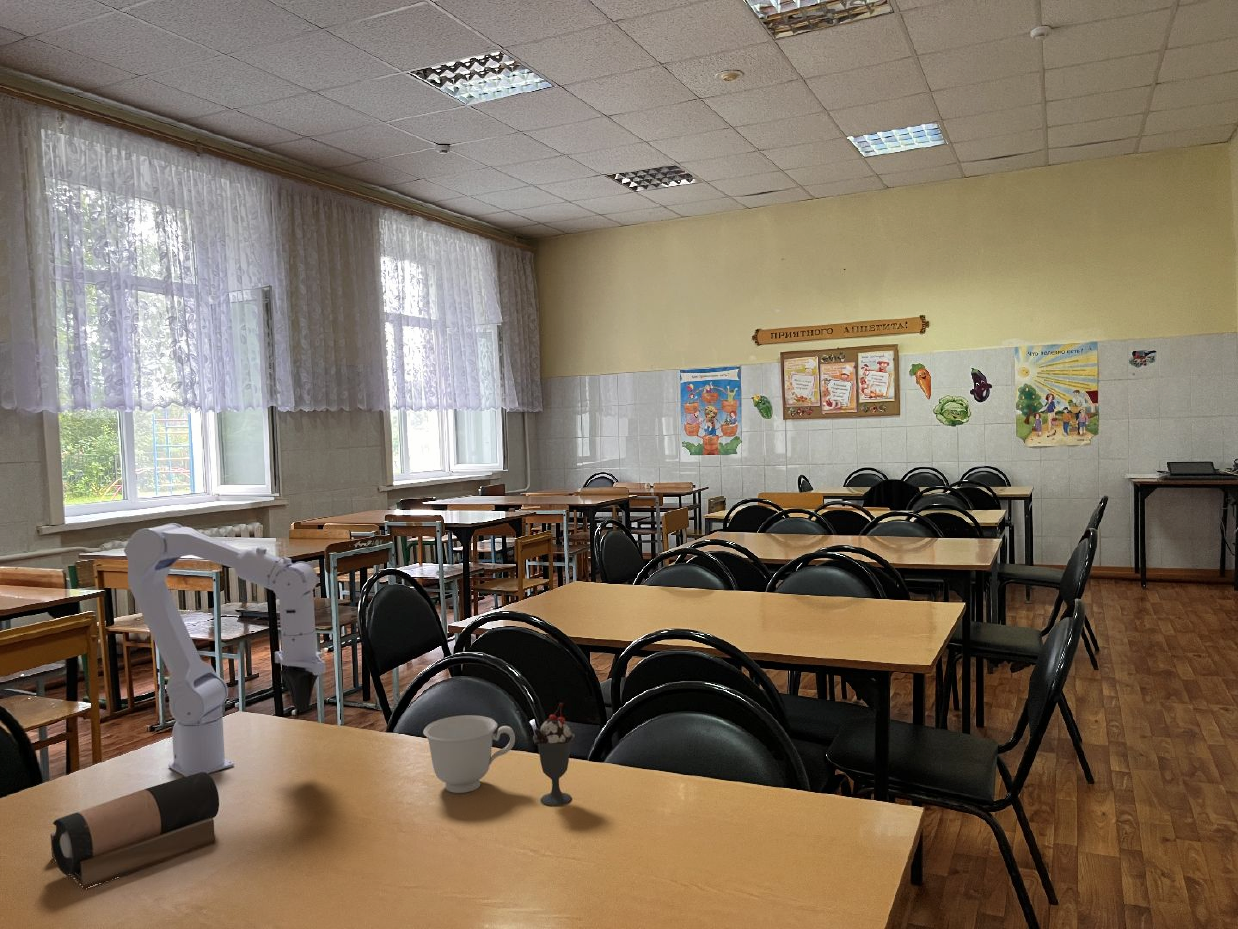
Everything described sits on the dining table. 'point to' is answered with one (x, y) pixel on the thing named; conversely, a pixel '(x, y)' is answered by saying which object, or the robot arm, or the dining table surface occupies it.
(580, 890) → the dining table surface
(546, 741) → the sundae
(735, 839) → the dining table surface
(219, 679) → the robot arm
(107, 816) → the travel mug
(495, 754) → the teacup
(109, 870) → the u rest
